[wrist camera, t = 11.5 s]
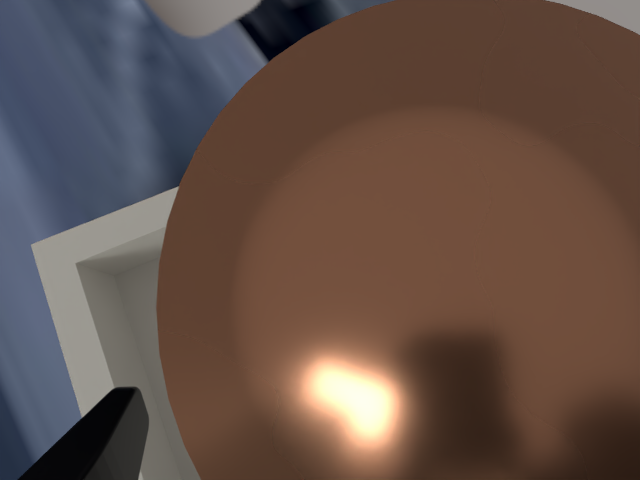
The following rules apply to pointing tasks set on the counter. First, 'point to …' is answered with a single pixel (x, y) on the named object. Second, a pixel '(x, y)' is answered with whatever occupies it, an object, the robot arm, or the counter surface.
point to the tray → (116, 319)
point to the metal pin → (415, 254)
